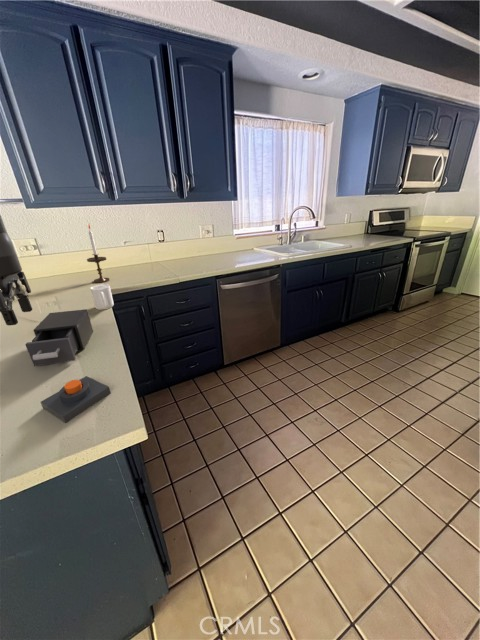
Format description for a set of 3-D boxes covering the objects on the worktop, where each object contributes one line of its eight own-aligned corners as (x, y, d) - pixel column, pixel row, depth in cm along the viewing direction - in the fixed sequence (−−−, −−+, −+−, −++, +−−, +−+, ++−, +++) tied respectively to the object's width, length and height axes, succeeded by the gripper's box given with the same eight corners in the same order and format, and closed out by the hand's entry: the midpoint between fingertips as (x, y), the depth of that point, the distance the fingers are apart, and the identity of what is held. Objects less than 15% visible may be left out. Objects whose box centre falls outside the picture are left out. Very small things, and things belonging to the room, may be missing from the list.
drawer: (70, 367, 81) (63, 345, 77) (27, 374, 78) (18, 351, 75) (85, 340, 96) (79, 321, 93) (49, 345, 93) (42, 325, 90)
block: (65, 423, 62) (60, 410, 60) (43, 408, 66) (37, 396, 64) (110, 393, 71) (107, 381, 69) (88, 382, 76) (84, 370, 74)
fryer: (84, 349, 92) (76, 325, 88) (42, 355, 89) (33, 330, 85) (93, 331, 105) (87, 309, 101) (57, 335, 102) (49, 312, 98)
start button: (71, 396, 65) (69, 390, 64) (63, 391, 66) (61, 386, 66) (85, 387, 68) (83, 382, 67) (77, 383, 69) (75, 378, 69)
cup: (113, 302, 134) (108, 283, 130) (115, 310, 125) (111, 289, 120) (95, 305, 130) (89, 285, 126) (96, 313, 121) (91, 292, 117)
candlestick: (103, 277, 177) (90, 222, 162) (114, 279, 172) (102, 222, 158) (88, 282, 168) (73, 224, 153) (100, 284, 164) (85, 224, 149)
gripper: (-8, 249, 66) (16, 309, 73) (-46, 261, 54) (-13, 331, 60) (27, 247, 68) (47, 306, 75) (-2, 258, 56) (25, 327, 62)
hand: (20, 317), depth 68 cm, fingers open, 8 cm apart
